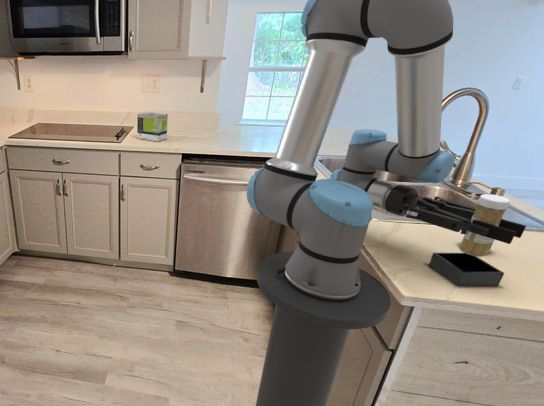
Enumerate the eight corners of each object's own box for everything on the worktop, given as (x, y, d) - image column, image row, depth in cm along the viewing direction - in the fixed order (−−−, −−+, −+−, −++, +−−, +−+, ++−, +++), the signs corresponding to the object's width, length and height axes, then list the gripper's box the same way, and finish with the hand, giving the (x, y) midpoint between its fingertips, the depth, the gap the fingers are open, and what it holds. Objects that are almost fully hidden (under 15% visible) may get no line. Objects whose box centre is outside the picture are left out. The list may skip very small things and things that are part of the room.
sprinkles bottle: (480, 259, 79) (505, 203, 74) (454, 250, 83) (476, 196, 78) (489, 253, 81) (515, 198, 76) (463, 245, 85) (486, 191, 79)
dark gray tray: (457, 286, 81) (463, 272, 79) (428, 265, 89) (433, 252, 87) (498, 286, 80) (504, 273, 79) (464, 265, 88) (470, 252, 87)
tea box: (167, 138, 215) (168, 113, 209) (157, 142, 208) (158, 116, 202) (146, 135, 224) (147, 111, 218) (136, 138, 217) (136, 113, 211)
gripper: (405, 203, 99) (527, 240, 80) (368, 218, 92) (492, 261, 73) (414, 177, 96) (542, 209, 77) (376, 190, 89) (507, 228, 70)
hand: (517, 234), depth 75 cm, fingers closed on sprinkles bottle, 4 cm apart
